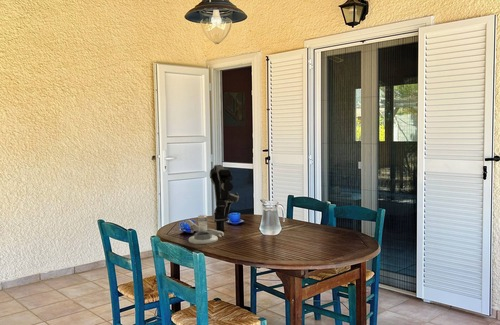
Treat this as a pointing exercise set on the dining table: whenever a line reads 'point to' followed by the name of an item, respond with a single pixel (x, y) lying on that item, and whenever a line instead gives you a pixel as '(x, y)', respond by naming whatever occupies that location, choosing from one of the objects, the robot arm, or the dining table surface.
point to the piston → (202, 225)
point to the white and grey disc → (203, 238)
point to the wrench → (195, 228)
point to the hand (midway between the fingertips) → (225, 215)
